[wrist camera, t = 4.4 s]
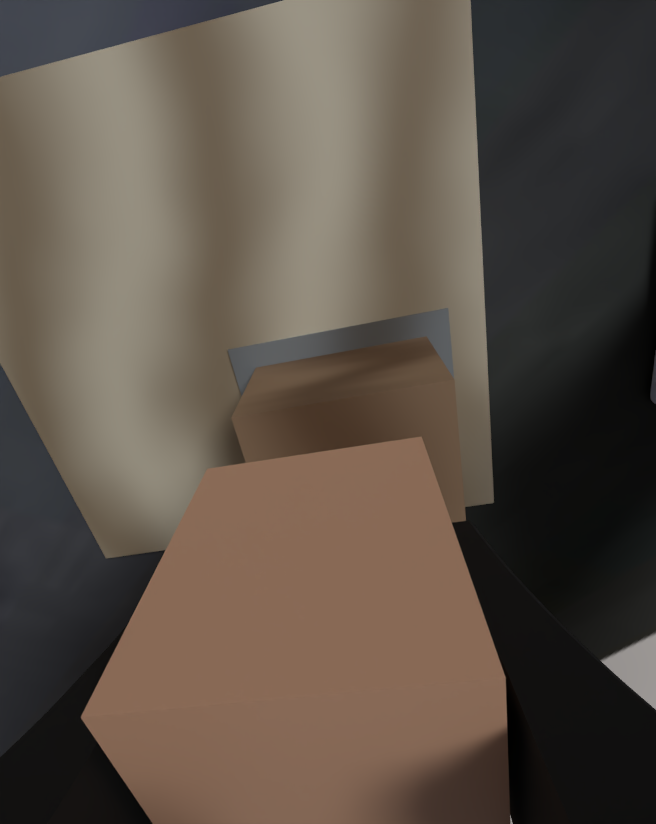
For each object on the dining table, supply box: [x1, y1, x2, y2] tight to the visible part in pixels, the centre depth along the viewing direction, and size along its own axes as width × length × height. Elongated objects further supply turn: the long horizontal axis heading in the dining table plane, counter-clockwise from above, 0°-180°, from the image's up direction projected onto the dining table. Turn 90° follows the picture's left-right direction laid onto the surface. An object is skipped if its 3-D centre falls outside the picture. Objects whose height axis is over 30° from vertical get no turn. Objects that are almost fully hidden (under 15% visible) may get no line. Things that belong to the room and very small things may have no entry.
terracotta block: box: [81, 436, 510, 824], centre depth 8 cm, size 4×4×5 cm
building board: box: [0, 0, 494, 558], centre depth 16 cm, size 17×17×1 cm
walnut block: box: [231, 336, 466, 523], centre depth 15 cm, size 6×6×4 cm
